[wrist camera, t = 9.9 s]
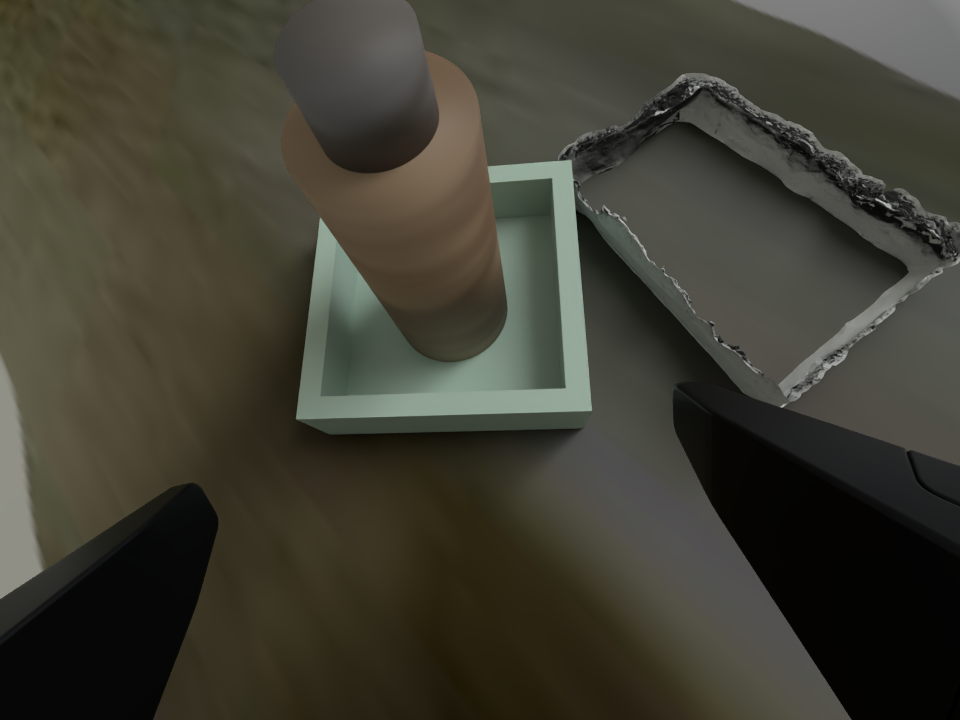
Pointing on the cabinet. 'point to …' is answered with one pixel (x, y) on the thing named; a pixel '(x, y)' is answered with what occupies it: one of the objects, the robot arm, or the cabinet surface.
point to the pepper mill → (396, 169)
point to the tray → (478, 380)
